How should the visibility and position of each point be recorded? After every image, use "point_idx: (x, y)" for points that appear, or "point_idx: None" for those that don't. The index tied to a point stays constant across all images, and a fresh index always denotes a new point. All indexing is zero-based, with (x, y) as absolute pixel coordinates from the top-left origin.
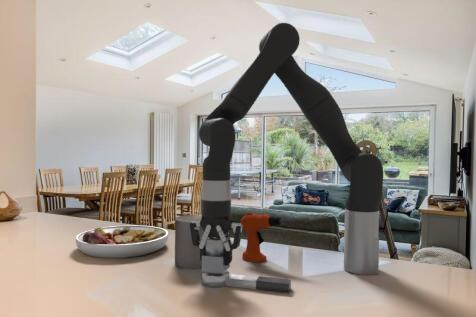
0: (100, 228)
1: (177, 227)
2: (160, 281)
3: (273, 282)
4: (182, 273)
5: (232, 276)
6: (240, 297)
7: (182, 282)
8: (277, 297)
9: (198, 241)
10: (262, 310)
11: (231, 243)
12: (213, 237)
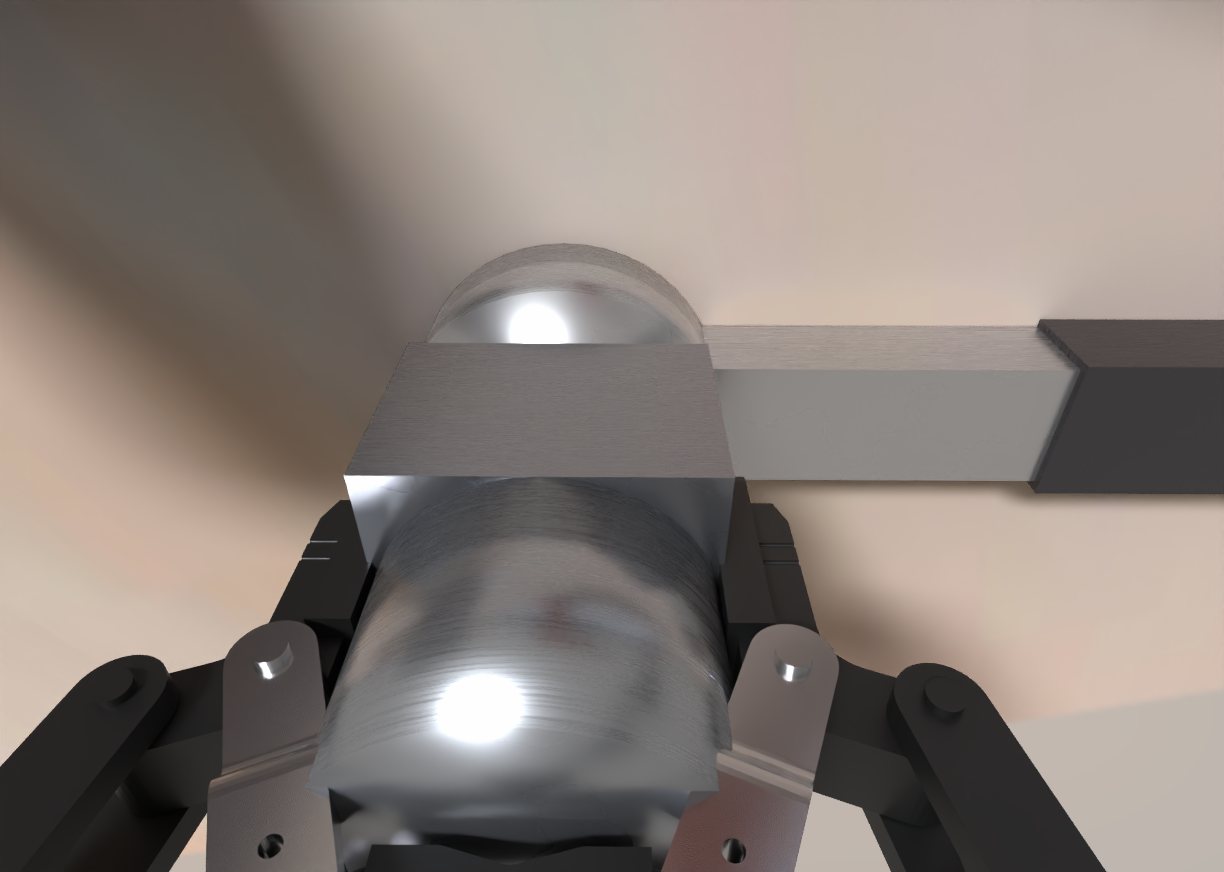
0: None
1: None
2: (73, 482)
3: (1218, 493)
4: (55, 211)
5: (765, 425)
6: (862, 593)
7: (269, 454)
8: (1168, 533)
9: (195, 791)
10: (1015, 705)
11: (826, 726)
12: (444, 844)
